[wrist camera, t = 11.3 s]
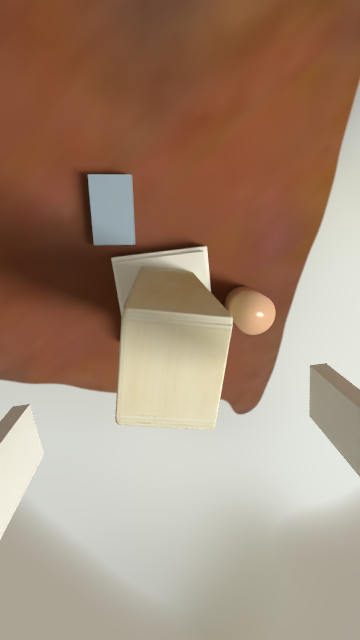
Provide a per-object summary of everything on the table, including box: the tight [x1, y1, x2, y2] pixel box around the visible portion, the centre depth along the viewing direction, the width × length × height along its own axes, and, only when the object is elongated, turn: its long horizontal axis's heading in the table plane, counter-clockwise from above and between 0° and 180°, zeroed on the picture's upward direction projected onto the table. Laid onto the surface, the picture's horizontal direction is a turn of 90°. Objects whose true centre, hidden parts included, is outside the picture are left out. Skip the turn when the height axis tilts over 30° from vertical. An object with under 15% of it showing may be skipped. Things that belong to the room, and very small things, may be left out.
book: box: [88, 174, 135, 245], centre depth 37 cm, size 8×5×2 cm, turn 0°
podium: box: [111, 246, 211, 317], centre depth 40 cm, size 12×12×3 cm
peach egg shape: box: [224, 286, 275, 335], centre depth 39 cm, size 5×5×6 cm
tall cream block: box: [115, 266, 233, 429], centre depth 28 cm, size 8×7×21 cm
